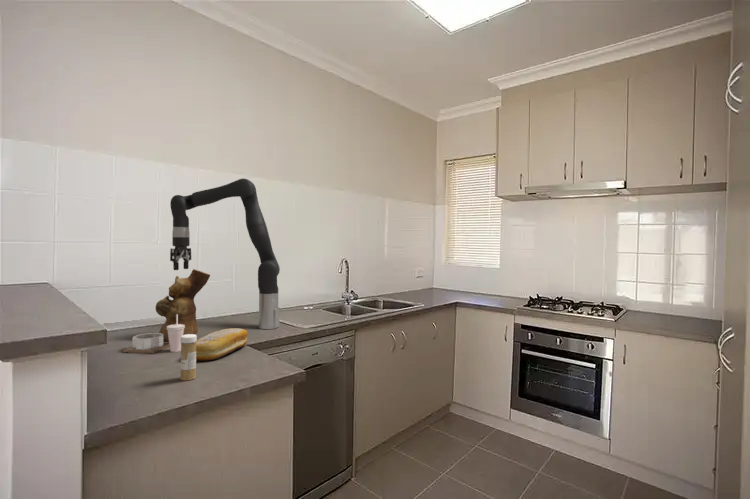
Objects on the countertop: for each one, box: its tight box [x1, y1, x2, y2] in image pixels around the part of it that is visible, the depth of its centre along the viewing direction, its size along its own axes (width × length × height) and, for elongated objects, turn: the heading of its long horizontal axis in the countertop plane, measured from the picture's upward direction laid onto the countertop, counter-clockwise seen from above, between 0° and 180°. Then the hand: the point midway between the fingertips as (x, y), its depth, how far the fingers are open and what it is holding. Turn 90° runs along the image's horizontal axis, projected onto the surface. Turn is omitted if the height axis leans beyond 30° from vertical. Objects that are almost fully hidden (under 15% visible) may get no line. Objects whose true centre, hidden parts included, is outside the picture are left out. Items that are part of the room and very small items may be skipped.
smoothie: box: [167, 314, 185, 353], centre depth 150 cm, size 6×6×14 cm
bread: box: [196, 327, 249, 362], centre depth 150 cm, size 13×26×8 cm, turn 170°
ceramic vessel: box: [155, 268, 211, 343], centre depth 172 cm, size 16×22×30 cm
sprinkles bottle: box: [179, 334, 198, 381], centre depth 120 cm, size 5×5×14 cm
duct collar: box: [122, 332, 170, 354], centre depth 153 cm, size 12×12×5 cm
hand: (181, 269), depth 190 cm, fingers open, 8 cm apart
